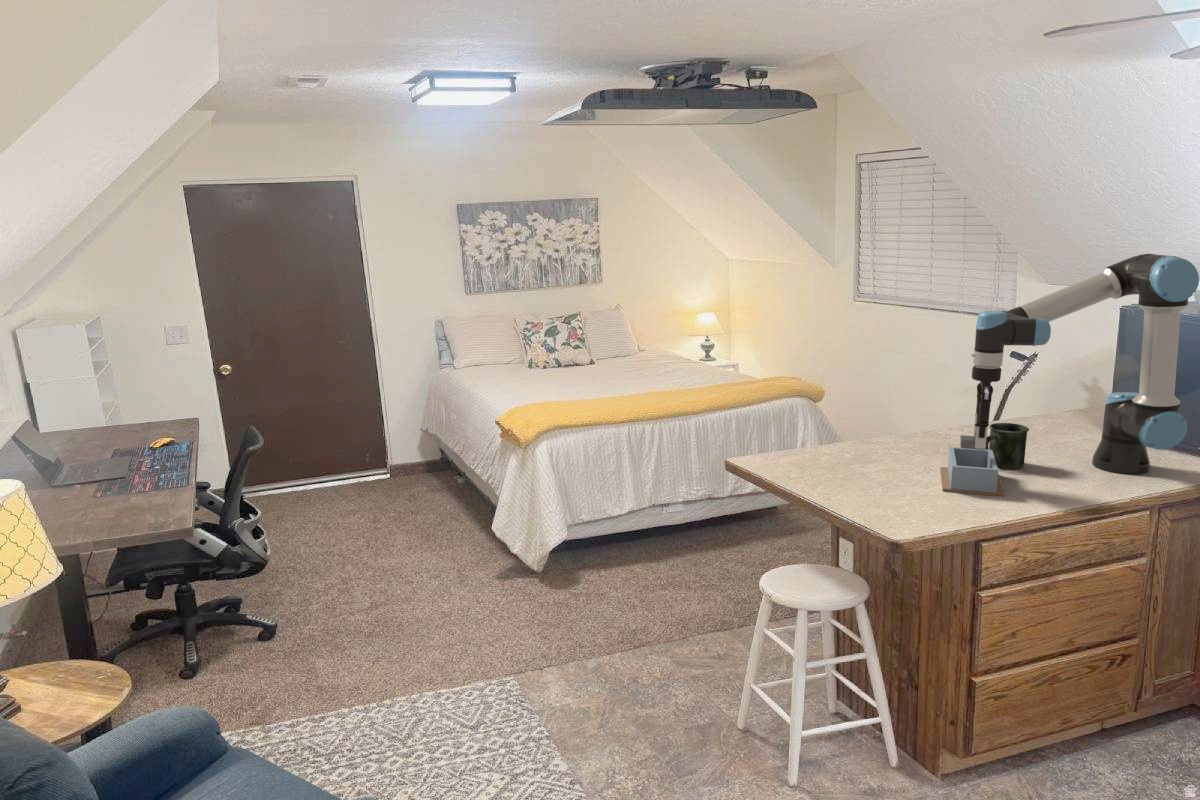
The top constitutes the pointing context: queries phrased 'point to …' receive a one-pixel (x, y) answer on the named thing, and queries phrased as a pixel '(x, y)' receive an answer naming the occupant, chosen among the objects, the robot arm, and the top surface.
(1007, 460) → the mug
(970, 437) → the brushed grey block
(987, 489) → the box
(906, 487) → the top surface
